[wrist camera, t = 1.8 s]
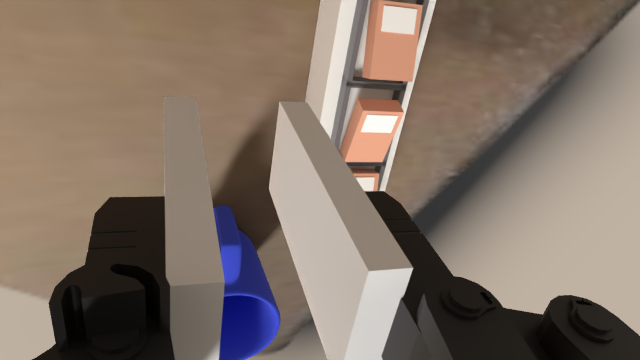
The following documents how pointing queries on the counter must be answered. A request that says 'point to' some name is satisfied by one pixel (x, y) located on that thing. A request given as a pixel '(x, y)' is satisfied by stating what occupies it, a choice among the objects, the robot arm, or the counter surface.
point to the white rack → (354, 73)
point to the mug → (243, 293)
